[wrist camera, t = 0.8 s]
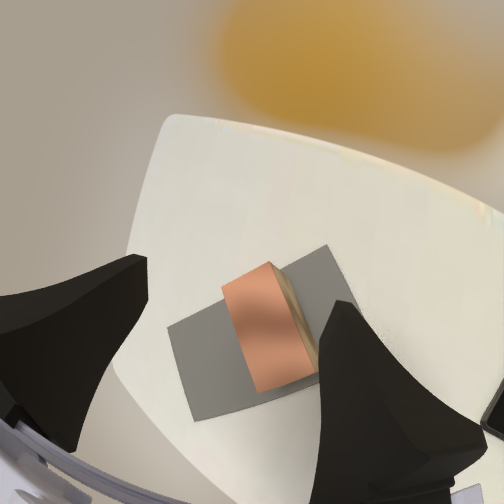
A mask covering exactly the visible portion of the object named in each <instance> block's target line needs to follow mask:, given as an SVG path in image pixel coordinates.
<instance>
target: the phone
mask: <svg viewBox="0 0 504 504" xmlns="http://www.w3.org/2000/svg"><path fill="white" fill-rule="evenodd" d="M480 424H481V427H482V428H483V429H484V430H485V431H487V432H489V433H490V434H492V435H494V436H496V437H498V438H500V439H501V440H503V441H504V379H503V380H502V382H501V384H500V386H499V388H498V390H497V392H496V394H495V395H494V397H493V399H492V401H491V402H490V404H489V406H488V407H487V409H486V411H485V412H484V414H483V416H482V418H481V421H480Z"/></svg>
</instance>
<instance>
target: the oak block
mask: <svg viewBox="0 0 504 504" xmlns="http://www.w3.org/2000/svg"><path fill="white" fill-rule="evenodd" d="M221 289H222V292H223V295H224V298H225V301H226V304H227V307H228V310H229V313H230V316H231V319H232V322H233V325H234V328H235V331H236V334H237V337H238V340H239V343H240V346H241V348H242V351H243V354H244V357H245V360H246V363H247V365H248V368H249V371H250V374H251V377H252V379H253V382H254V385H255V388H256V390H257V393H262V392H265V391H269V390H272V389H275V388H278V387H281V386H284V385H286V384H289V383H291V382H294V381H297V380H299V379H302V378H304V377H307V376H309V375H311V374H314V373H316V372H319V369H318V352H319V349H318V347H317V344H316V342H315V339H314V337H313V335H312V332H311V330H310V328H309V325H308V323H307V321H306V318H305V316H304V314H303V311H302V309H301V307H300V304H299V302H298V300H297V297H296V295H295V293H294V290H293V288H292V286H291V284H290V281H289V279H288V277H287V275H285V274H284V273H283V272H282V271H280V270H279V269H278V268H277V267H276V266H274V265H273V264H272V263H271V262H269V261H268V262H267V263H265V264H263V265H261V266H259V267H257V268H256V269H254V270H252V271H250V272H248V273H246V274H244V275H243V276H241V277H239V278H237V279H235V280H233V281H231V282H230V283H228V284H226V285H224V286H222V287H221Z"/></svg>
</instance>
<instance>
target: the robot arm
mask: <svg viewBox="0 0 504 504" xmlns="http://www.w3.org/2000/svg"><path fill="white" fill-rule="evenodd" d="M147 302H148V277H147V257H144V256H140V255H137V254H131V255H128V256H125V257H123V258H120V259H118V260H115V261H113V262H111V263H108V264H106V265H104V266H101V267H99V268H97V269H94V270H92V271H90V272H87V273H85V274H82V275H80V276H77V277H74V278H72V279H70V280H67V281H64V282H61V283H58V284H55V285H52V286H48V287H45V288H41V289H37V290H33V291H28V292H24V293H19V294H13V295H6V296H0V504H91V501H92V497H91V496H89V495H87V494H86V493H84V492H82V491H81V490H79V489H78V488H76V487H75V486H73V485H72V484H70V483H69V482H68V481H67V480H65V479H63V478H62V477H60V476H58V475H57V474H56V473H54V472H53V471H51V470H50V469H48V465H47V463H46V462H48V463H49V464H51V465H52V466H54V467H55V468H57V469H59V470H60V471H62V472H64V473H65V474H67V475H68V476H70V477H72V478H73V479H75V480H77V481H79V482H81V483H82V484H84V485H86V486H88V487H90V488H92V489H94V490H96V491H98V492H100V493H102V494H104V495H106V496H108V497H110V498H112V499H115V500H117V501H119V502H121V503H124V504H190V503H187V502H183V501H179V500H176V499H173V498H169V497H166V496H163V495H160V494H157V493H154V492H151V491H148V490H146V489H143V488H140V487H138V486H135V485H133V484H130V483H128V482H125V481H123V480H121V479H118V478H116V477H114V476H112V475H109V474H107V473H105V472H103V471H101V470H99V469H97V468H95V467H93V466H91V465H89V464H87V463H85V462H84V461H82V460H80V459H78V458H76V457H75V456H73V455H71V454H69V453H72V452H75V451H76V449H77V445H78V441H79V437H80V433H81V430H82V427H83V423H84V420H85V417H86V415H87V412H88V409H89V406H90V403H91V401H92V399H93V396H94V394H95V392H96V389H97V387H98V385H99V383H100V381H101V378H102V376H103V374H104V372H105V370H106V368H107V366H108V365H109V363H110V361H111V360H112V358H113V357H114V355H115V354H116V352H117V351H118V349H119V348H120V346H121V345H122V343H123V342H124V340H125V339H126V337H127V336H128V335H129V333H130V332H131V330H132V329H133V327H134V326H135V324H136V323H137V321H138V320H139V318H140V316H141V314H142V312H143V310H144V308H145V306H146V304H147ZM318 369H319V383H320V398H321V433H320V445H319V453H318V461H317V468H316V474H315V479H314V485H313V489H312V494H311V498H310V502H309V504H484V501H483V495H482V489H481V484H479V483H478V484H476V485H473V486H470V487H468V488H465V489H462V490H460V491H457V492H455V493H452V494H450V488H451V487H453V486H454V484H455V480H454V476H455V475H457V474H458V473H460V472H461V471H463V470H464V469H466V468H467V467H469V466H470V465H472V464H473V463H475V462H476V461H477V460H478V459H480V458H481V457H482V456H483V455H484V453H485V452H486V450H487V448H488V447H487V443H486V439H485V436H484V433H483V430H482V427H481V426H480V425H478V424H477V423H475V422H473V421H471V420H470V419H468V418H466V417H464V416H463V415H461V414H459V413H458V412H456V411H455V410H453V409H452V408H450V407H449V406H447V405H446V404H445V403H443V402H442V401H441V400H439V399H438V398H437V397H435V396H434V395H433V394H432V393H431V392H429V391H428V390H427V389H426V388H425V387H424V386H422V385H421V384H420V383H419V382H418V381H417V380H416V379H415V378H414V377H413V376H412V375H411V374H410V373H409V372H408V371H407V370H406V369H405V368H404V367H403V366H402V365H401V364H400V363H399V362H398V361H397V359H396V358H395V357H394V356H393V355H392V354H391V352H390V351H389V350H388V349H387V348H386V346H385V345H384V344H383V343H382V341H381V340H380V339H379V338H378V336H377V335H376V334H375V332H374V331H373V330H372V328H371V327H370V326H369V324H368V323H367V322H366V320H365V319H364V318H363V316H362V315H361V314H360V312H359V311H358V310H357V308H356V307H355V306H354V305H353V304H352V303H351V302H346V301H341V300H336V302H335V304H334V306H333V309H332V311H331V314H330V316H329V318H328V321H327V323H326V325H325V328H324V330H323V332H322V334H321V337H320V339H319V352H318Z"/></svg>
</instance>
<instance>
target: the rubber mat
mask: <svg viewBox="0 0 504 504" xmlns="http://www.w3.org/2000/svg"><path fill="white" fill-rule="evenodd" d="M280 271H282V272H283V273H284V274H285V275H287V277H288V279H289V281H290V284H291V286H292V288H293V290H294V293H295V295H296V297H297V300H298V302H299V304H300V307H301V309H302V311H303V314H304V316H305V318H306V321H307V323H308V325H309V328H310V330H311V332H312V335H313V337H314V339H315V342H316V344H317V347H318V349H319V339H320V337H321V334H322V332H323V330H324V328H325V325H326V323H327V321H328V318H329V316H330V314H331V311H332V309H333V306H334V304H335V302H336V300H341V301H346V302H351V303H352V304H353V305H354V306H355V307H356V308H357V310H358V311H359V312H360V314H361V315H362V313H361V311H360V309H359V307H358V305H357V303H356V300H355V298H354V296H353V294H352V292H351V290H350V288H349V286H348V284H347V282H346V280H345V278H344V276H343V274H342V272H341V271H340V269H339V267H338V265H337V263H336V261H335V259H334V257H333V255H332V253H331V251H330V250H329V248H328V246H327V244H326V245H324V246H323V247H321V248H319V249H317V250H315V251H313V252H312V253H310V254H308V255H306V256H304V257H302V258H301V259H299V260H297V261H295V262H293V263H291V264H289V265H288V266H286V267H284V268H282V269H280ZM362 316H363V315H362ZM363 318H364V317H363ZM167 329H168V333H169V337H170V341H171V345H172V349H173V353H174V357H175V360H176V364H177V368H178V371H179V375H180V378H181V381H182V385H183V388H184V391H185V395H186V398H187V401H188V404H189V407H190V410H191V413H192V416H193V419H194V422H196V421H200V420H204V419H209V418H213V417H217V416H220V415H224V414H228V413H232V412H235V411H239V410H242V409H245V408H249V407H252V406H255V405H258V404H262V403H265V402H268V401H271V400H274V399H276V398H279V397H282V396H285V395H288V394H291V393H293V392H296V391H299V390H301V389H304V388H306V387H309V386H311V385H314V384H316V383H319V372H316V373H314V374H311V375H309V376H307V377H304V378H302V379H299V380H297V381H294V382H291V383H289V384H286V385H284V386H281V387H278V388H275V389H272V390H269V391H265V392H262V393H257V390H256V388H255V385H254V382H253V379H252V377H251V374H250V371H249V368H248V365H247V363H246V360H245V357H244V354H243V351H242V348H241V346H240V343H239V340H238V337H237V334H236V331H235V328H234V325H233V322H232V319H231V316H230V313H229V310H228V307H227V304H226V301H225V299H223V300H221V301H219V302H217V303H215V304H213V305H211V306H209V307H207V308H205V309H203V310H201V311H199V312H197V313H195V314H193V315H191V316H189V317H187V318H185V319H183V320H181V321H179V322H177V323H175V324H173V325H171V326H169V327H167Z"/></svg>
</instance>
